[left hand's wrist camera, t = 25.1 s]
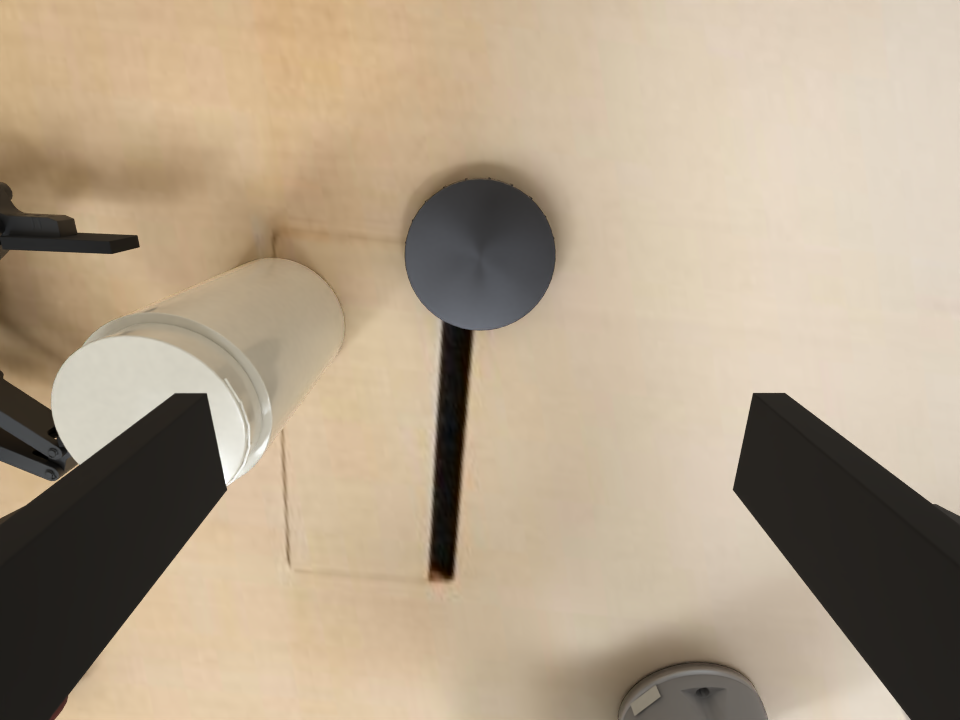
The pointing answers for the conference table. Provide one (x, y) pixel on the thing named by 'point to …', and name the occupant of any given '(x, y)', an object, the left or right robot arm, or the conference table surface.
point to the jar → (206, 360)
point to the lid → (480, 254)
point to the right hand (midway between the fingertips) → (146, 346)
